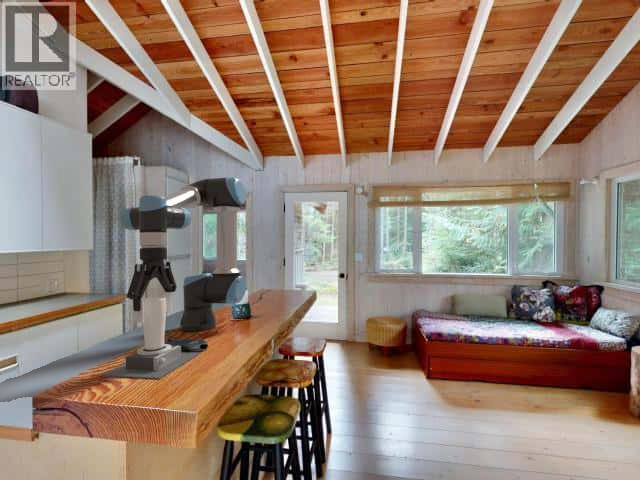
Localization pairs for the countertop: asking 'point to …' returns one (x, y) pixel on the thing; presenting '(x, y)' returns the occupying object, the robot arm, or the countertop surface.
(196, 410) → the countertop surface
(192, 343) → the electronic device
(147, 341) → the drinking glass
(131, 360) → the flat gray baseplate
